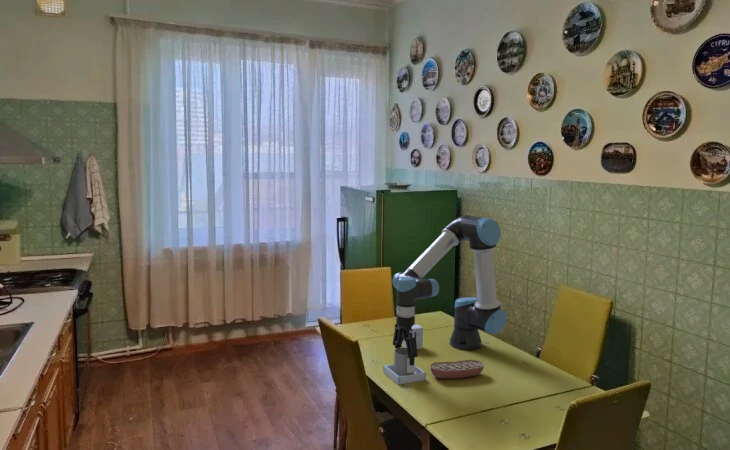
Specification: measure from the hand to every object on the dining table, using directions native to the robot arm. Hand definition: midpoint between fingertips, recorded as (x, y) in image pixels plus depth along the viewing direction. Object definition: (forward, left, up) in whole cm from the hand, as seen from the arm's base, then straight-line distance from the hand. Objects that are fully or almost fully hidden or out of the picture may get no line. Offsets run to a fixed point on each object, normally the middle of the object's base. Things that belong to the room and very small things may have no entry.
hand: (404, 367), depth 227 cm
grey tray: (0, 0, -4) cm, 4 cm away
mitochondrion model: (-20, +9, -4) cm, 23 cm away
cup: (0, 0, -3) cm, 3 cm away
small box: (-20, -28, -4) cm, 35 cm away
